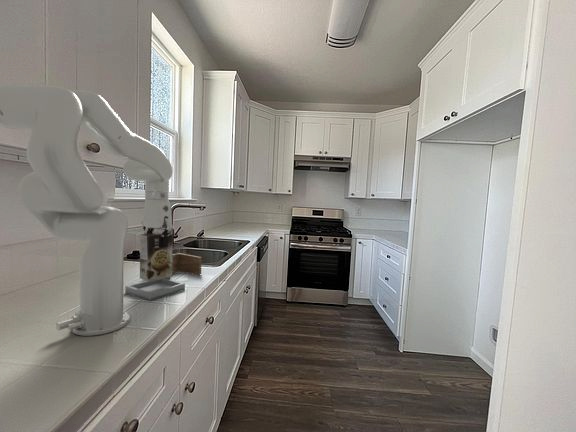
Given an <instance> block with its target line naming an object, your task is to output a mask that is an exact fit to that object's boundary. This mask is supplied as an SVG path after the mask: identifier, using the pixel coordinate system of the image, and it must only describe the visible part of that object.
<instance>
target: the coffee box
mask: <svg viewBox="0 0 576 432" xmlns="http://www.w3.org/2000/svg"><path fill="white" fill-rule="evenodd" d="M159 237H161V236H160V233H159V232H158V233H157V232H155V233H154V232H153V234H144V233H141V234H140V251H139V252H140V253H139V279H140V280H143V281H147V282H150V281H155V280H159V279H164V278H169V277H170V278H172V277H173V272H172V254H173V248H174V247H173V243H174V242H173V241H174V239H173V237H174V235H173V233H170V234H169V236H168V247H165V248H159Z"/></svg>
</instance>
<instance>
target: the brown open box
mask: <svg viewBox="0 0 576 432" xmlns="http://www.w3.org/2000/svg"><path fill="white" fill-rule="evenodd" d="M202 261H203V259H202V256H197V255H192V254H188V253H181V252H179V253H178V252H177V253H172V273H175V272H183V273H187V272H188V273H187V274H192V273H193V274H192V275H196V274H197V275H196V276H201V275H202ZM200 274H201V275H200ZM166 279H170V280H171V277H169V278H166Z"/></svg>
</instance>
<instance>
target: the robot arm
mask: <svg viewBox="0 0 576 432" xmlns="http://www.w3.org/2000/svg"><path fill="white" fill-rule="evenodd" d="M0 126H1V127H3V128H6V129H9V130H29V131H31V132H30V136H29V140H28V143H27V146H26V159H27V162H28V163H29V165H30V167H31V168H32V170H33V172H31V173H28V174H27V175H25V176H24V177H23V178H22V179H21V180H20V183H19V185H18V194H19V198H20V201H21V203H22V205H23V206H24V208H26V210H27V211H28V212H29V213H30V214H31V215H32V216H33V217H34V218H35V219H36V220H37V221H38V222H39V223H40V224H41V225H42V227H43V228H45V229H46V231H47V232H49V233H50V235H52V236H53V237H55V238H56V239H58V240H61V241H63V242H64V241H65V242H74V243H75V242H77V243H78V242H81V243H88V245H87V246H86V247H85V249H84V251H83V252H82V253H81V256H80V258H79V259H80V260H79V310H77V311H76V312H74V316H72V317H70V319H69V318H68V319H64V320H61V321H57V322H56V324H55V328H56V331H60V330H61V331H62V330H65V329H67V330H69V331H71V330H72V332H73V333H74V334H75V335H78V336H85V337H87V336H88V337H90V336H99V335H103V334H109V333H112V332H115V331H117V330H120V329H122V328H124V327H125V326H126V325H128V324H129V322H130V320H131V319H130V317H131V315H130V314H129V313H128V312H126V311H124V255H125V254H124V252H125V244H126V243H125V242H126V237H127V232H128V228H129V220H128V216H127V215H126V213H125V212H124V211H122V210H121V209H120V208H116V207H113V206H108V205H102V204H103V203H104V199H105V198H104V193H103V190H102V189H101V187H100V184H99V183H98V181H97V180H96V178H95V176H94V175H93V173H92V172H91V171H90V169H89V168H88V165H86V163H85V162H84V160H83V158H82V155H80V152H79V148H78V138H79V132H80V129H81V130H83V131H84V132H85V133H86V134H87V135H88V136H89V137H90V138H92V140H93V141H94V142H95V143H97V144H98V145H99V146H100V147H101V149H103V150H104V151H105V152H107V153H108V154H109V155H113V156H115V157H119V158H122V159H125V160H126V161H125V162H124V164H123V174H125V176H126V178H128V179H129V180H132V181H134V182H145V183H144V189H145V190H144V200H145V201H144V204H143V205H144V206H143V217H142V218H143V219H142V221H141V223H140V224H141V226H142V230H143V232H144V233H143V234H153V233H154V231H155V230H158V233H160V236H161V237H159V248H165V247H168V236H169V234H171V232H172V230H173V229H174V226H173V224H172V222H173V221H172V218H173V217H172V207H171V203H170V200H169V186H170V185H169V181H170V179H172V176H173V166H172V163H171V162H170V160H169V159H168V157H167V156H166V154H165V153H164V151H163V150H161V148H159V146H157V145H156V144H154V143H152V142H150V141H149V140H147V139H145V138H143V137H141V136H139V135H137V134H136V133H134V132H132V131H131V130H130V129H129V128H128V127H127V125H126V124H125V123H124V122H123V121H122V120H121V118H120V116H118V113H116V112H115V111H114V109H113V108H111V106H110V105H109V103H108V102H107V101H106V100H105V99H104V98H103V97H102V96H101V95H100V94H98V93H95V92H94V91H90V90H83V89H82V90H81V89H80V90H79V89H75V90H74V89H68V88H65V87H63V86H58V85H52V84H37V83H36V84H33V83H32V84H31V83H29V84H25V83H24V84H23V83H22V84H21V83H19V84H18V83H17V84H16V83H15V84H14V83H0Z"/></svg>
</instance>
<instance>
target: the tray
mask: <svg viewBox="0 0 576 432" xmlns="http://www.w3.org/2000/svg"><path fill="white" fill-rule="evenodd" d="M124 287H125V290H124V291H125V292H124V294H127V295H131V296H133V297H137V298H140V299H142V300H146V301H148V302H152V301H155V300H159V299H161V298H164V297H167V296H171V295H173V294H176V293H178V292H179V293H180V292H182V291H185V290H186V283H185V282H180V281H177V280H173V279H171V278H170V279H166V278H164V279H159V280H155V281H150V282H147V281H145V280H143V281H140V282H137V283H133V284H129V285H125V286H124Z"/></svg>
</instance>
